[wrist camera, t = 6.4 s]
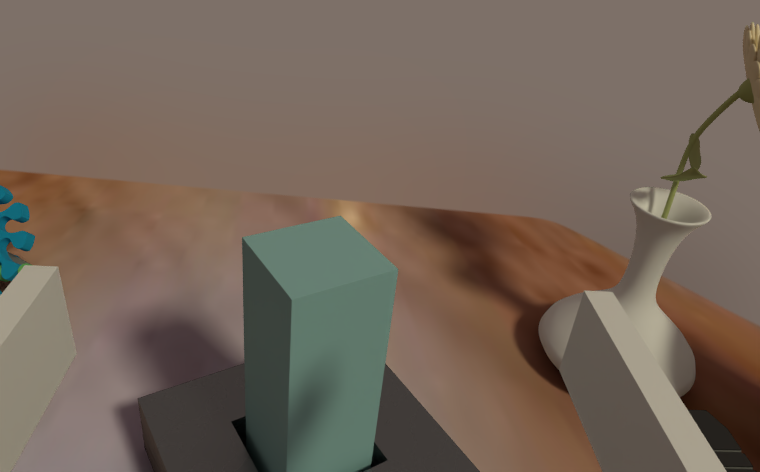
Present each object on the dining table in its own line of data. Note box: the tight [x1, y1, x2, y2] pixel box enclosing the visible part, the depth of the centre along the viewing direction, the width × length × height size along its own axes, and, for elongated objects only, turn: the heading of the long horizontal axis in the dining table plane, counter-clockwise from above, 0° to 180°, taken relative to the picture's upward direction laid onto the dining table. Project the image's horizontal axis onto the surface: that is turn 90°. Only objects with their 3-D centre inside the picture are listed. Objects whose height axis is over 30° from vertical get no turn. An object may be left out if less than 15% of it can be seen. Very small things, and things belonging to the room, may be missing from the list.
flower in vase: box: [538, 22, 760, 397], centre depth 41 cm, size 13×11×25 cm
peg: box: [242, 216, 398, 472], centre depth 31 cm, size 5×5×16 cm
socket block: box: [138, 363, 480, 472], centre depth 34 cm, size 14×14×4 cm
